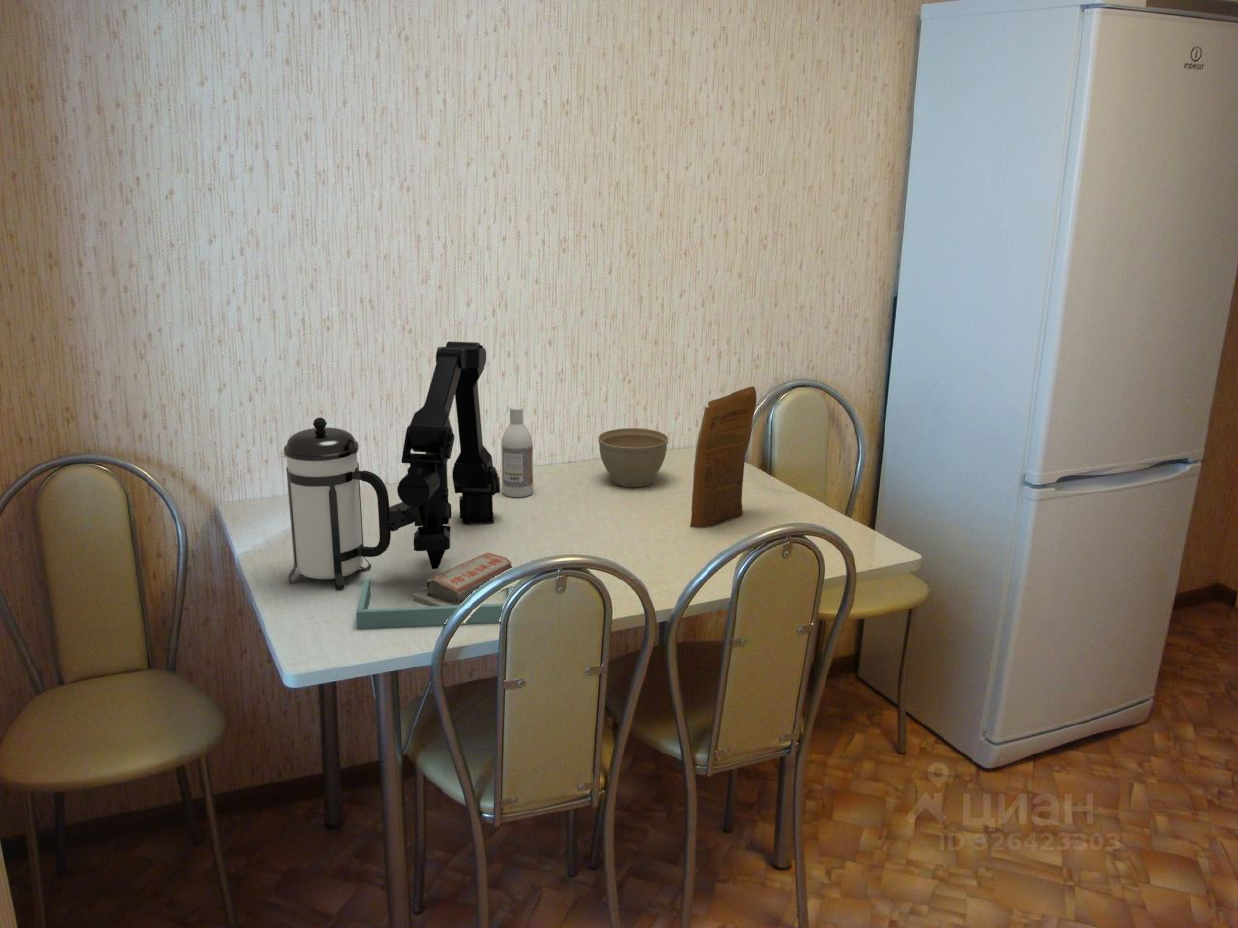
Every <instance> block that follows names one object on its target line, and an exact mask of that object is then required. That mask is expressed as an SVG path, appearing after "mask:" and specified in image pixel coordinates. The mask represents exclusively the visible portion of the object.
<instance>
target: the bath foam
mask: <svg viewBox="0 0 1238 928" xmlns="http://www.w3.org/2000/svg"><path fill="white" fill-rule="evenodd" d="M500 444H501V445H500V447H501V489H502V490H501V491H502V494H503V495H504V496H506V497H508V498H519V499H520V498H525V497H529V496H530V495H532V494H533V492H534V456H533V455H534V453H533V451H534V450H533V449H534V448H533V447H534V446H533V445H534V444H533V438H532V435H531V433H530V431H529V429H528V427H526V425H525V423H524V407H523V406H520V405H513V406H511V407H509V424H508V426H507V428H505V431H504V432H503V434H502V437H501V443H500Z"/></svg>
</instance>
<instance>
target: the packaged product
mask: <svg viewBox="0 0 1238 928" xmlns="http://www.w3.org/2000/svg"><path fill="white" fill-rule="evenodd" d="M510 568H513V566H512V562H511V560H510V559H508V557H505V556H502V555H498V554H497V553H496V554H495V553H491V552H486V553H484V554H480V555H479V556H476V557H474V558H472V559H470V560H467V561H465V562H463V563H460V564H459V565H456V566H455V567H452V568H449V569H448V570H446V571H443V572H441V573H439V574H437V575H433V576H431V577H430V578H428V579H427V580H426V583H425V584H426V585H425V586H426V587H425V588H424V589H422V590H419V591H417V592H415V593H413V595H412V596H413V600H414V601H415V602H417V603H421V604H423V605H426V606H427V607H432V606H456V605H460V604H461V603H462V602H463V601H464V600H465V599H466V598H467V597H468V596H469V595H470V594H472V592H473V591H474V590H476V589H478V588H479V587H480V586H481V585H483V584H484V583H486V582H487V581H489V580H490V579H492V578H494V577H495V576H497V575H499V574H501V573H502V572H504V571H506V570H508V569H510Z"/></svg>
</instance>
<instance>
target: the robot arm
mask: <svg viewBox="0 0 1238 928" xmlns="http://www.w3.org/2000/svg"><path fill="white" fill-rule="evenodd" d="M435 352H436V353H435V366H434V371H433V375H432V377H431V381H430V384H429V388H428V390H427V391H428V392H427V395H426V397H425V401H424V404H423V406H422V407H420V408H419V409H418V410H417V411H415V412H414V414H413V416H412V418H411V421H410V423H409V425H408V426H407V428H406V431H405V437H404V442H403V449H402V455H401V464H409V467H408V468H407V473H406V475H404V476H403V477H402V479H401V480H400V481H399V482H398V484H397V485H398V486H397V490H396V492H397V495H398V496H397V497H398V498H399V500H401V502H399V503H396V504H393V505H390V506H389V509H390V516H389V519H388V523H390V524H388V527H390V528H391V532H396V531H398V530H399V529H401V528H404V527H406V526H409V525H412V524H414V527H417V529H416V531H415V532H414V533H413V551H415V552H426V554H427V557H428V561H429V564H430V567H431V569H432V570H439V567H440V565H441V563H442V560H443V557H444V555H445V552H446V551H448V550H450V548H451V530H452V529H451V526H450V525H449V523H450V519H452V504H451V503H450V502H449V487H448V486H449V485H448V484H449V483H448V461H449V460H450V459H452V458H451V457H452V451H453V447H454V443H455V434H454V431H453V427H452V425H451V420H450V414H451V410H452V406H453V402H454V398H455V408H456V418H457V427H458V428H457V429H458V438H459V439H458V440H459V450H460V451H459V452H460V453H458V455H457V456H458V457H456V460H455V462H454V464H453V468H452V472H451V474H452V482H453V483H452V484H453V488H454V493H455V494H461V495H460V496H459V500H458V501H459V519H461V522H462V524H463V525H469V524H470V525H471V524H472V525H475V524H476V525H478V524H493V523H494V521H495V517H494V508H493V505H494V504H493V503H494V502H493V496H495V495H496V494H499V493H501V483H500V479H501V478H500V477H499V474H498V472H497V469H496V467H495V466H494V462H493V457H492V455H491V453H490V452H489V451H488V450H487V448H485V446H484V443H483V442H484V441H483V440H484V439H483V432H482V418H481V417H482V416H481V410H480V409H481V408H480V396H479V384H478V383H479V379H480V378H481V375H482V373H484V370H485V367H486V363H487V350H486V348H484V346H483V345H482V344H480V342H474V341H473V342H472V341H447V342H446V344H445V346H439V347H438V346H437V348H436V351H435ZM411 451H413V452H414V453H413V452H411ZM386 525H387V524H386Z"/></svg>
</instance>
